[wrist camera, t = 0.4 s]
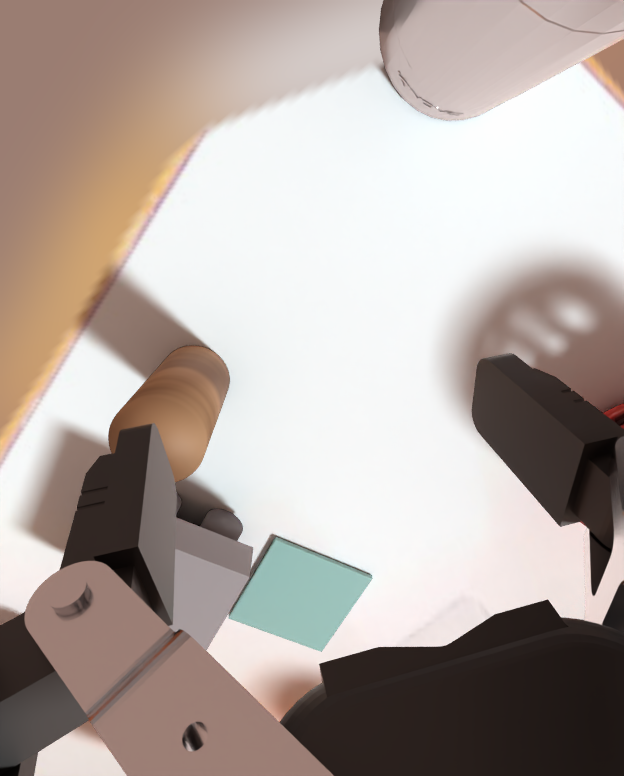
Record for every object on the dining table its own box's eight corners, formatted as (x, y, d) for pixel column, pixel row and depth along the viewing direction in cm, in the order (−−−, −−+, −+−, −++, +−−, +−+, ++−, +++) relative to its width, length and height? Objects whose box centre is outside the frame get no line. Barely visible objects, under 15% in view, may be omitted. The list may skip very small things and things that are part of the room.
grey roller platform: (135, 473, 35) (106, 522, 30) (255, 522, 37) (249, 577, 32) (91, 570, 38) (57, 631, 32) (205, 611, 40) (191, 675, 34)
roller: (176, 333, 32) (128, 382, 22) (240, 364, 33) (220, 423, 23) (150, 392, 33) (94, 461, 24) (212, 420, 34) (183, 497, 25)
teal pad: (275, 536, 38) (275, 539, 37) (371, 575, 39) (372, 578, 39) (229, 614, 40) (228, 618, 40) (321, 647, 42) (321, 651, 42)
